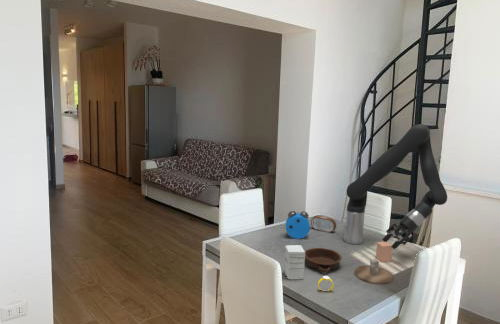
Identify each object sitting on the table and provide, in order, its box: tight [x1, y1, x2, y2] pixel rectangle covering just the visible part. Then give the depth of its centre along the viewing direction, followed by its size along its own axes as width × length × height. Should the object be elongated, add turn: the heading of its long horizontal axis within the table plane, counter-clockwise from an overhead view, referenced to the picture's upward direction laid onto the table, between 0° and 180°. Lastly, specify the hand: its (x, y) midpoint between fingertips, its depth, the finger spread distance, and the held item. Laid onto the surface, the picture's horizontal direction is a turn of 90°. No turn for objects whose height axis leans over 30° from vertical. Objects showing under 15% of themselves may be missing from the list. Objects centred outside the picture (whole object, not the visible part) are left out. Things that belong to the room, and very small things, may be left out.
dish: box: [304, 247, 343, 274], centre depth 175 cm, size 17×22×5 cm
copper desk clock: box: [310, 215, 337, 233], centre depth 221 cm, size 15×3×8 cm, turn 58°
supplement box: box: [283, 244, 306, 279], centre depth 163 cm, size 7×7×13 cm
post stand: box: [354, 258, 394, 285], centre depth 165 cm, size 16×16×7 cm
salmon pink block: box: [375, 241, 393, 263], centre depth 182 cm, size 5×5×8 cm
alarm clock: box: [285, 210, 311, 240], centre depth 209 cm, size 13×6×15 cm, turn 85°
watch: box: [317, 275, 334, 291], centre depth 151 cm, size 6×3×6 cm, turn 89°
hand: (388, 244), depth 182 cm, fingers open, 8 cm apart
